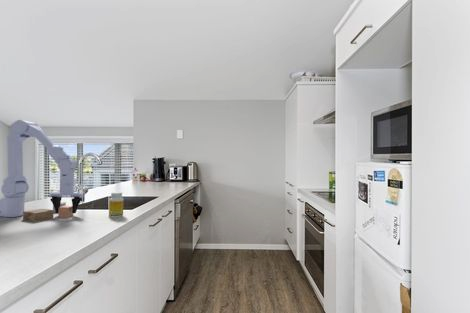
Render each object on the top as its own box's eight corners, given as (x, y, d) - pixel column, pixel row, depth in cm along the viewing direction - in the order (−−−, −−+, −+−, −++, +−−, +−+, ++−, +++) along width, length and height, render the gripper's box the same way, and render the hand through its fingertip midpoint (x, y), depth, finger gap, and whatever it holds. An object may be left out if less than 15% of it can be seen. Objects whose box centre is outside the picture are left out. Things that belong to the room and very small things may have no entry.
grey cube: (52, 212, 139) (53, 203, 139) (55, 211, 143) (55, 202, 144) (63, 212, 141) (63, 203, 141) (65, 210, 145) (65, 202, 145)
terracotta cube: (58, 217, 130) (58, 207, 130) (63, 215, 134) (63, 205, 134) (68, 217, 130) (68, 207, 130) (73, 215, 135) (73, 205, 135)
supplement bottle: (107, 216, 134) (107, 192, 135) (120, 214, 138) (121, 191, 139) (110, 218, 130) (111, 193, 130) (125, 216, 134) (125, 193, 134)
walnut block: (22, 220, 122) (23, 211, 122) (41, 217, 130) (41, 208, 130) (34, 222, 119) (34, 213, 119) (53, 219, 127) (53, 210, 127)
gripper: (45, 184, 128) (44, 214, 128) (78, 184, 129) (77, 214, 129) (54, 183, 135) (53, 211, 135) (85, 183, 136) (85, 211, 136)
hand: (66, 212), depth 132 cm, fingers open, 7 cm apart
